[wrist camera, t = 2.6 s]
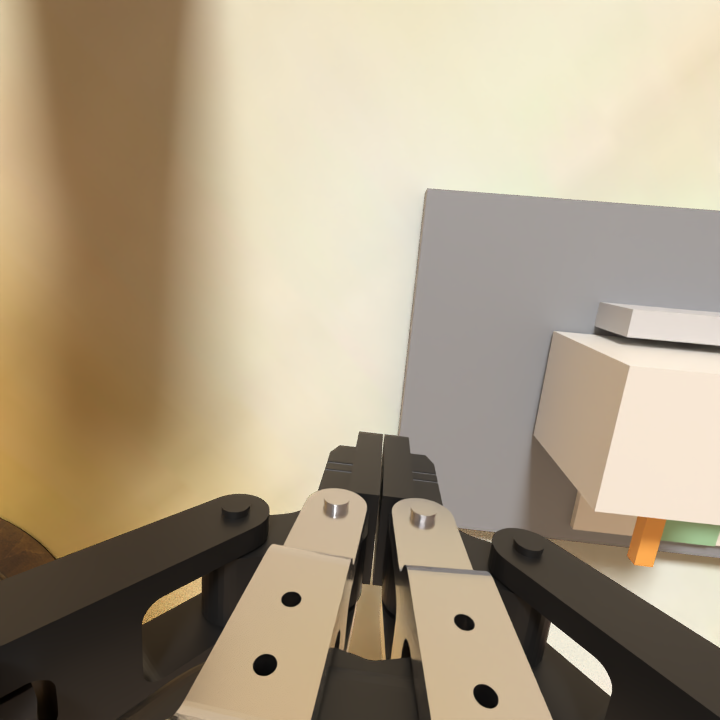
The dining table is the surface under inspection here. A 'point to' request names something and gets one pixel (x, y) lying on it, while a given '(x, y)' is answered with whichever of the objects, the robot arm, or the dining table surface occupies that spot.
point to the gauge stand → (541, 342)
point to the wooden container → (19, 551)
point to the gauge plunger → (635, 429)
